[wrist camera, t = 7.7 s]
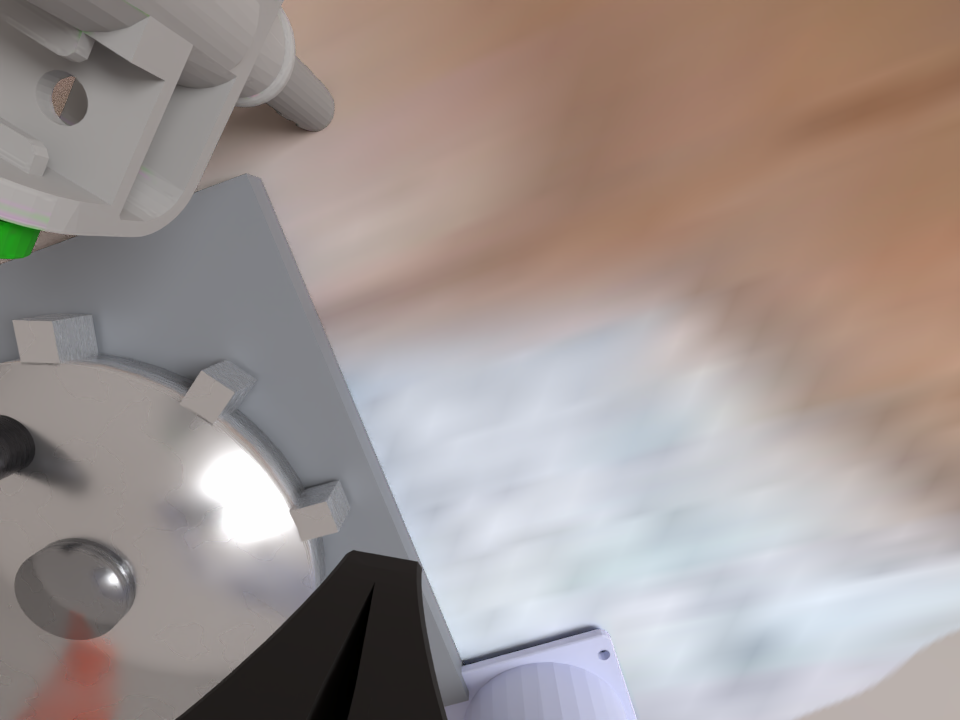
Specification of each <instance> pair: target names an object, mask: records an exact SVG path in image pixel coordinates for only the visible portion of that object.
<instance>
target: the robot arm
mask: <svg viewBox="0 0 960 720" xmlns="http://www.w3.org/2000/svg"><path fill="white" fill-rule="evenodd" d="M601 650H606V651H604V652H600V651H601ZM461 673H462V676H463V678H464V681H465V683H466V686H467V688H468V690H469V700H468V701H464V702H461V703H457V704H453V705H449V706H446V707H444V704H443V701H442V697H441V693H440V690H439V686H438V681H437V677H436V673H435V669H434V664H433V659H432V654H431V649H430V644H429V639H428V634H427V628H426V622H425V615H424V607H423V598H422V567H421V565H420V564H419V563H418V561H412V560H407V559H401V558H396V557H390V556H384V555H379V554H373V553H367V552H362V551H356V550H352V551H350V552H349V553H347V554H345V556H344V557H343V558H342V560H341V561H340V562H339V563H338V565H337V566H336V567H335V568H334V570H333V571H332V572H331V573H330V574H329V575H328V577H327V578H326V579H325V580H324V581H323V582H322V583H321V584H320V586H319V587H318V588H317V589H316V590H315V591H314V592H313V593H312V594H311V595H310V596H309V598H308V599H307V600H306V601H305V602H304V603H303V604H302V605H301V606H300V607H299V608H298V609H297V610H296V611H295V612H294V613H293V614H292V615H291V616H290V617H289V618H288V619H287V620H286V621H285V622H284V623H283V624H282V625H281V626H280V627H279V628H278V629H277V630H276V631H275V632H274V633H273V634H272V635H271V636H270V637H269V638H268V639H267V640H266V641H265V642H264V643H263V644H261V645H260V646H259V647H258V648H257V649H256V650H255V651H254V652H253V653H252V654H250V655H249V656H248V657H247V658H246V659H245V660H244V661H243V662H242V663H241V664H240V665H238V666H237V667H236V668H235V669H234V670H233V671H232V672H231V673H230V674H229V675H228V676H226V677H225V678H224V679H223V680H222V681H221V682H220V683H218V684H217V685H216V686H215V687H214V688H213V689H211V690H210V691H209V692H208V693H207V694H206V695H204V696H203V697H202V698H201V699H200V700H199V701H197V702H196V703H195V704H194V705H192V706H191V707H190V708H189V709H188V710H186V711H185V712H184V713H183V714H182V715H180V716H179V717H178V718H176V719H175V720H637V718H636V714H635V711H634V708H633V705H632V702H631V699H630V696H629V693H628V690H627V687H626V683H625V680H624V677H623V674H622V671H621V668H620V665H619V662H618V659H617V655H616V652H615V649H614V646H613V643H612V640H611V637H610V635H609V633H608V632H607V631H605V630H602V629H597V630H592V631H589V632H585V633H581V634H578V635H574V636H571V637H567V638H563V639H560V640H556V641H552V642H549V643H545V644H541V645H538V646H534V647H530V648H527V649H523V650H520V651H516V652H512V653H509V654H505V655H501V656H498V657H494V658H490V659H487V660H483V661H480V662H476V663H472V664H469V665H465V666H462V672H461Z"/></svg>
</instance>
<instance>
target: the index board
mask: <svg viewBox="0 0 960 720" xmlns="http://www.w3.org/2000/svg"><path fill="white" fill-rule="evenodd" d="M50 314H90V315H92V318H93V324H94V330H95V336H96V342H97V348H98V353H102V354H108V355H114V356H120V357H126V358H131V359H135V360H138V361H142V362H145V363H149V364H152V365H156V366H159V367H162V368H164V369H167V370H169V371H171V372H174V373H176V374H179V375H181V376H183V377H186V378H188V379H190V380H192V381H195V379H196V378H197V376H198V375H199V373H200V372H201V370H204V369H206V368H208V367H211V366H213V365H215V364H217V363H220V362H222V361H224V360H228V361H230V362H231V363H233V364H234V365H236V366H237V367H239V368H240V369H242V370H243V371H244V372H246V373H247V374H249V375H250V376H252V377H253V378H255V379H256V382H255V383H254V385H253V386H252V388H251V389H250V391H249V392H248V394H247V395H246V396H245V398H244V399H243V401H242V402H241V404H240V405H239V407H238V408H237V409H238V410H239V411H241V412H242V413H243V414H245V415H246V416H247V417H248V418H249V419H250V420H251V421H252V422H253V423H254V424H255V425H257V426H258V427H259V428H260V429H261V430H262V431H263V432H264V433H265V434H266V435H267V436H268V437H269V438H270V440H271V441H272V442H273V443H274V444H275V445H276V446H277V448H278V449H279V450H280V451H281V452H282V453H283V455H284V456H285V457H286V459H287V460H288V462H289V463H290V465H291V466H292V468H293V469H294V471H295V472H296V474H297V475H298V477H299V478H300V480H301V482H302V484H303V486H304V488H305V489H308V488H311V487H315V486H319V485H322V484H326V483H330V482H333V481H337V480H340V483H341V486H342V488H343V491H344V493H345V496H346V498H347V501H348V503H349V506H350V510H349V512H348V514H347V516H346V518H345V520H344V522H343V524H342V526H341V528H340V530H339V532H336V533H333V534H329V535H325V536H322V539H323V544H324V550H325V566H326V578H327V577H328V575H329V574H330V573H331V572H332V571H333V570H334V568H335V567H336V566H337V565H338V563H339V562H340V561H341V560H342V558H343V557H344V556H345V554H347V553H349V552H350V551H352V550H356V551H362V552H367V553H373V554H379V555H384V556H390V557H396V558H401V559H407V560H412V561H418V563H419V564H420V565H421V567H422V564H421V562H420V559H419V557H418V555H417V552H416V550H415V547H414V545H413V543H412V540H411V538H410V535H409V533H408V531H407V528H406V526H405V523H404V521H403V519H402V516H401V514H400V511H399V509H398V507H397V504H396V502H395V499H394V497H393V495H392V492H391V490H390V488H389V485H388V483H387V480H386V478H385V476H384V473H383V471H382V468H381V466H380V464H379V461H378V459H377V456H376V454H375V452H374V449H373V447H372V444H371V442H370V440H369V437H368V435H367V432H366V430H365V428H364V425H363V423H362V420H361V418H360V416H359V413H358V411H357V408H356V406H355V404H354V401H353V399H352V396H351V394H350V392H349V389H348V387H347V384H346V382H345V380H344V377H343V375H342V372H341V370H340V368H339V365H338V363H337V360H336V358H335V356H334V353H333V351H332V348H331V346H330V344H329V341H328V339H327V336H326V334H325V332H324V329H323V327H322V324H321V322H320V320H319V317H318V315H317V312H316V310H315V308H314V305H313V303H312V300H311V298H310V296H309V293H308V291H307V288H306V286H305V284H304V281H303V279H302V276H301V274H300V272H299V269H298V267H297V264H296V262H295V260H294V257H293V255H292V252H291V250H290V248H289V245H288V243H287V240H286V238H285V236H284V233H283V231H282V228H281V226H280V224H279V221H278V219H277V216H276V214H275V212H274V209H273V207H272V204H271V202H270V200H269V197H268V195H267V192H266V190H265V188H264V185H263V183H262V180H261V178H258V177H255V176H252V175H249V174H243V175H241V176H238V177H235V178H233V179H230V180H227V181H224V182H222V183H219V184H216V185H214V186H211V187H208V188H206V189H203V190H200V191H197V192H195V193H194V194H193V196H192V197H191V199H190V201H189V202H188V204H187V205H186V206H185V208H184V209H183V210H182V211H181V212H180V214H179V215H178V216H177V217H176V218H175V219H173V220H172V221H171V222H170V223H169V224H167V225H166V226H165V227H163V228H162V229H160V230H158V231H156V232H154V233H152V234H149V235H145V236H142V237H112V236H82V235H79V236H76V237H73V238H70V239H68V240H65V241H62V242H60V243H57V244H54V245H52V246H49V247H46V248H43V249H41V250H38V251H35V252H33V253H31V254H30V255H29V256H27V257H25V258H20V259H14V260H11V261H8V262H6V263H3V264H0V363H3V362H8V361H12V360H16V359H20V355H19V350H18V345H17V340H16V336H15V331H14V326H13V321H12V320H17V319H23V318H30V317H36V316H43V315H50ZM422 598H423V607H424V615H425V622H426V628H427V634H428V639H429V644H430V649H431V654H432V659H433V664H434V669H435V673H436V677H437V681H438V686H439V690H440V693H441V697H442V701H443V704H444V707H446V706H449V705H453V704H457V703H461V702H464V701H468V700H469V690H468V688H467V686H466V683H465V681H464V678H463V676H462V673H461V672H462V666H464V665H463V663H462V660H461V658H460V655H459V653H458V651H457V648H456V646H455V643H454V641H453V639H452V636H451V634H450V631H449V629H448V627H447V624H446V622H445V619H444V617H443V615H442V612H441V610H440V607H439V605H438V603H437V600H436V598H435V595H434V593H433V591H432V588H431V586H430V583H429V581H428V579H427V576H426V574H425V571H424V569H423V567H422Z"/></svg>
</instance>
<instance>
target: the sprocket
mask: <svg viewBox="0 0 960 720" xmlns="http://www.w3.org/2000/svg"><path fill="white" fill-rule="evenodd" d="M12 321H13V326H14V331H15V336H16V340H17V345H18V350H19V355H20V359H16V360H12V361H8V362H3V363H0V720H175V719H176V718H178V717H179V716H180V715H182V714H183V713H184V712H185V711H186V710H188V709H189V708H190V707H191V706H192V705H194V704H195V703H196V702H197V701H199V700H200V699H201V698H202V697H203V696H204V695H206V694H207V693H208V692H209V691H210V690H211V689H213V688H214V687H215V686H216V685H217V684H218V683H220V682H221V681H222V680H223V679H224V678H225V677H226V676H228V675H229V674H230V673H231V672H232V671H233V670H234V669H235V668H236V667H237V666H238V665H240V664H241V663H242V662H243V661H244V660H245V659H246V658H247V657H248V656H249V655H250V654H252V653H253V652H254V651H255V650H256V649H257V648H258V647H259V646H260V645H261V644H263V643H264V642H265V641H266V640H267V639H268V638H269V637H270V636H271V635H272V634H273V633H274V632H275V631H276V630H277V629H278V628H279V627H280V626H281V625H282V624H283V623H284V622H285V621H286V620H287V619H288V618H289V617H290V616H291V615H292V614H293V613H294V612H295V611H296V610H297V609H298V608H299V607H300V606H301V605H302V604H303V603H304V602H305V601H306V600H307V599H308V598H309V596H310V595H311V594H312V593H313V592H314V591H315V590H316V589H317V588H318V587H319V586H320V584H321V583H322V582H323V581H324V580H325V579H326V566H325V550H324V544H323V539H322V536H325V535H329V534H333V533H336V532H339V530H340V528H341V526H342V524H343V522H344V520H345V518H346V516H347V514H348V512H349V510H350V506H349V503H348V501H347V498H346V496H345V493H344V491H343V488H342V486H341V483H340V480H337V481H333V482H330V483H326V484H322V485H319V486H315V487H311V488H308V489H305V488H304V486H303V484H302V482H301V480H300V478H299V477H298V475H297V474H296V472H295V471H294V469H293V468H292V466H291V465H290V463H289V462H288V460H287V459H286V457H285V456H284V455H283V453H282V452H281V451H280V450H279V449H278V448H277V446H276V445H275V444H274V443H273V442H272V441H271V440H270V438H269V437H268V436H267V435H266V434H265V433H264V432H263V431H262V430H261V429H260V428H259V427H258V426H257V425H255V424H254V423H253V422H252V421H251V420H250V419H249V418H248V417H247V416H246V415H245V414H243V413H242V412H241V411H239V410H238V409H237V408H238V407H239V405H240V404H241V402H242V401H243V399H244V398H245V396H246V395H247V394H248V392H249V391H250V389H251V388H252V386H253V385H254V383H255V382H256V379H255V378H253V377H252V376H250V375H249V374H247V373H246V372H244V371H243V370H242V369H240V368H239V367H237V366H236V365H234V364H233V363H231V362H230V361H228V360H224V361H222V362H220V363H217V364H215V365H213V366H211V367H208V368H206V369H204V370H201V372H200V373H199V375H198V376H197V378H196V379H195V381H192V380H190V379H188V378H186V377H183V376H181V375H179V374H176V373H174V372H171V371H169V370H167V369H164V368H162V367H159V366H156V365H152V364H149V363H145V362H142V361H138V360H135V359H131V358H126V357H120V356H114V355H108V354H102V353H98V348H97V342H96V336H95V330H94V324H93V318H92V315H90V314H50V315H43V316H36V317H30V318H23V319H17V320H12Z"/></svg>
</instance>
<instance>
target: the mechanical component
mask: <svg viewBox="0 0 960 720" xmlns="http://www.w3.org/2000/svg"><path fill="white" fill-rule="evenodd" d="M283 1H284V0H0V259H20V258H25V257H27V256H29V255H30V254H31V252H32V249H33V247H34V245H35V242H36V240H37V238H38V235H39V233H40V230H42V231H47V232H53V233H58V234H67V235H82V236H112V237H142V236H145V235H149V234H152V233H154V232H156V231H158V230H160V229H162V228H163V227H165V226H166V225H167V224H169V223H170V222H171V221H172V220H173V219H175V218H176V217H177V216H178V215H179V214H180V212H181V211H182V210H183V209H184V208H185V206H186V205H187V204H188V202H189V201H190V199H191V197H192V196H193V194H194V192H195V190H196V188H197V186H198V184H199V182H200V179H201V177H202V175H203V173H204V171H205V169H206V167H207V164H208V162H209V160H210V158H211V156H212V154H213V151H214V149H215V147H216V145H217V143H218V141H219V139H220V136H221V134H222V132H223V130H224V128H225V126H226V123H227V121H228V119H229V117H230V115H231V113H232V111H233V108H234V106H237V107H253V106H258V105H261V104H263V103H267V104H268V105H270V106H271V107H272V108H274V109H275V110H276V111H277V113H278V114H280V115H281V116H282V117H284V118H286V119H287V120H292V121H294V122H295V123H296V126H298V127H301V128H303V129H306V130H309V131H320V130H322V129H324V128H325V127H326V126H327V125H328V124H329V123H330V122H331V120H332V118H333V114H334V100H333V98H332V96H331V94H330V93H329V91H328V90H327V88H326V87H325V86H324V84H323V83H322V82H321V81H320V80H319V79H318V78H317V77H316V76H315V75H314V74H313V73H312V72H311V71H310V69H309V68H308V67H307V66H306V65H304V64H303V63H302V62H301V61H300V60H299V58H298V57H297V56H296V50H295V39H294V34H293V30H292V27H291V24H290V22H289V20H288V18H287V16H286V14H285V12H284V10H283V9H282V7H281V5H282V3H283ZM69 76H73V77H76V78H75V81H74V83H73V86H72V89H71V91H70V94H69V96H68V99H67V101H66V104H65V107H64V109H63V112H62V114H61V116H60V117H58V116H57V114H56V113H55V110H54V107H53V104H52V92H53V89H54V87H55V85H56V83H58V82H59V81H60V80H61V79H64V78H66V77H69Z"/></svg>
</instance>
